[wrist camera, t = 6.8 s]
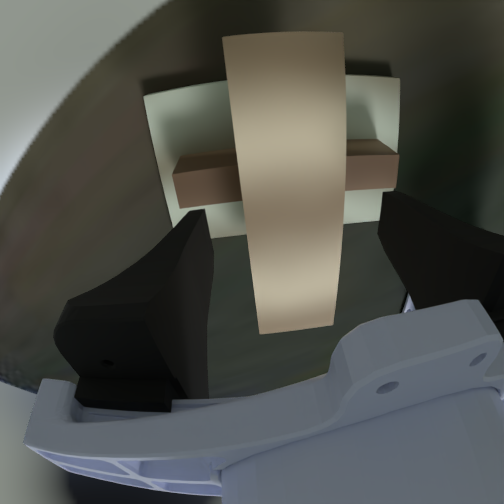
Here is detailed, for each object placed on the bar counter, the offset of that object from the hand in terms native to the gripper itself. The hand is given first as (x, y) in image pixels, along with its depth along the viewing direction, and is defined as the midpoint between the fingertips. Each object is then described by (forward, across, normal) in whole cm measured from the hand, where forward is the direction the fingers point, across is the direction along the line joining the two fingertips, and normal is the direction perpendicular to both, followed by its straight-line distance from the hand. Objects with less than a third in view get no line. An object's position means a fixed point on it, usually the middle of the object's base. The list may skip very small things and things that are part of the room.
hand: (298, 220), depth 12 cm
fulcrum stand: (+8, 0, 0) cm, 8 cm away
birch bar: (+4, 0, 0) cm, 4 cm away
